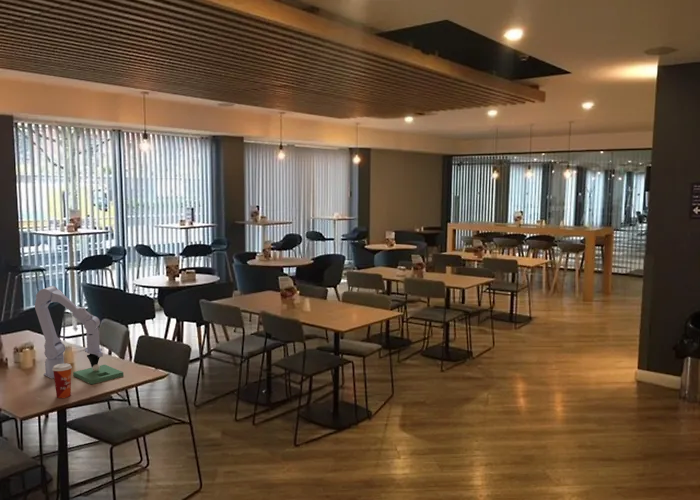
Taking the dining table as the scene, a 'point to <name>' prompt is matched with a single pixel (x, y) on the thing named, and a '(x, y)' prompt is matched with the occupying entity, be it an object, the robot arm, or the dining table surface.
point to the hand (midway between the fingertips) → (94, 368)
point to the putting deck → (98, 374)
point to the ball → (96, 367)
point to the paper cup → (62, 380)
